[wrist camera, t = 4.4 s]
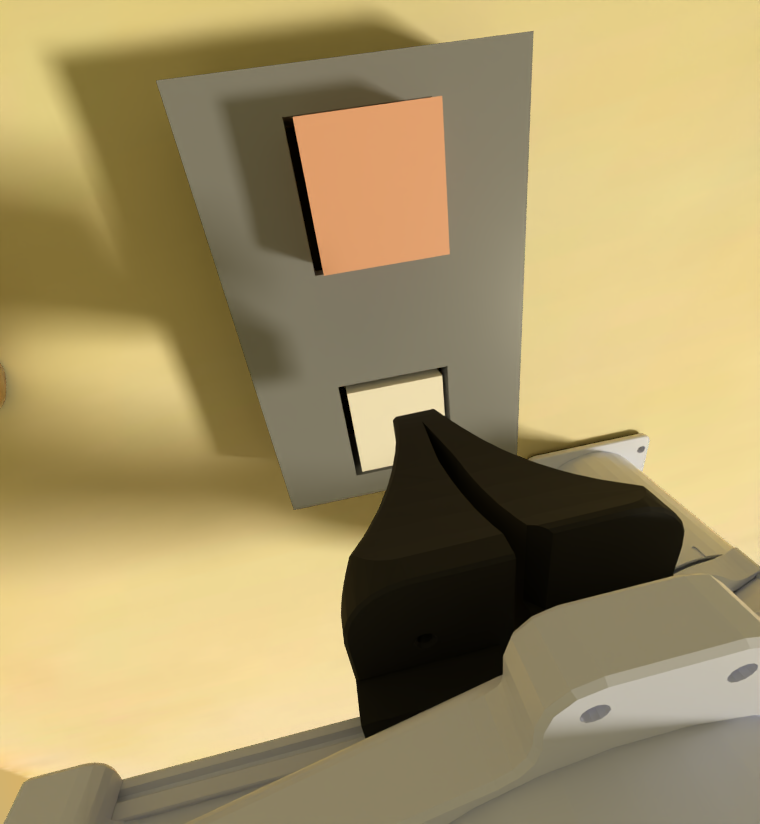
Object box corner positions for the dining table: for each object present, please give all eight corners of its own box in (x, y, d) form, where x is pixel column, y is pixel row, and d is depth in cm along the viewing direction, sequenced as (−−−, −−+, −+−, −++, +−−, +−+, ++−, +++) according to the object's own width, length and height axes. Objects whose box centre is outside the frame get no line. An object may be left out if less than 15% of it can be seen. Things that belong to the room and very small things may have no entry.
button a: (427, 417, 22) (447, 453, 19) (354, 432, 21) (362, 471, 18) (421, 347, 20) (442, 375, 17) (340, 362, 19) (347, 394, 16)
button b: (421, 242, 16) (449, 254, 13) (320, 259, 15) (323, 275, 12) (412, 117, 14) (442, 95, 11) (295, 134, 13) (292, 116, 10)
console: (485, 422, 23) (516, 462, 20) (295, 461, 22) (293, 509, 19) (482, 67, 15) (533, 31, 12) (191, 107, 15) (155, 80, 11)
